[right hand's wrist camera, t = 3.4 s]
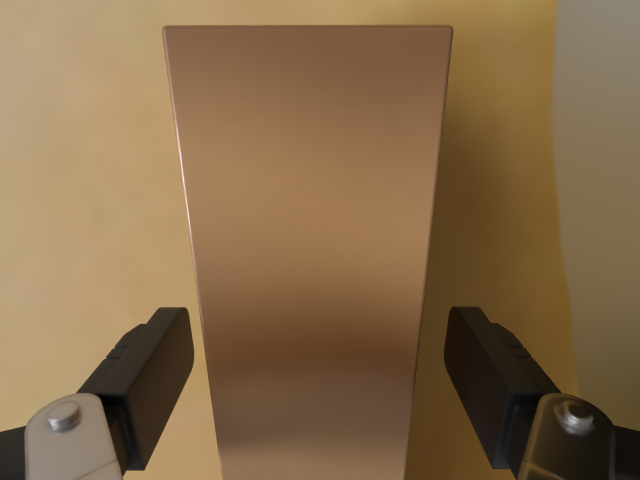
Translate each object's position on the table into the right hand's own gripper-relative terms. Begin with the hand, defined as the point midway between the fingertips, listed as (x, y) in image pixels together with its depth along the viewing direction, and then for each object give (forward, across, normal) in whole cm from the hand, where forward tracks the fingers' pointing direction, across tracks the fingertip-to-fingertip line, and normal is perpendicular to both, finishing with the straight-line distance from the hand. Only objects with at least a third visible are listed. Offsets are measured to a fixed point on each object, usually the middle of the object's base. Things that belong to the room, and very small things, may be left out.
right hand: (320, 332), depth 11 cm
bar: (+5, 0, -31) cm, 32 cm away
